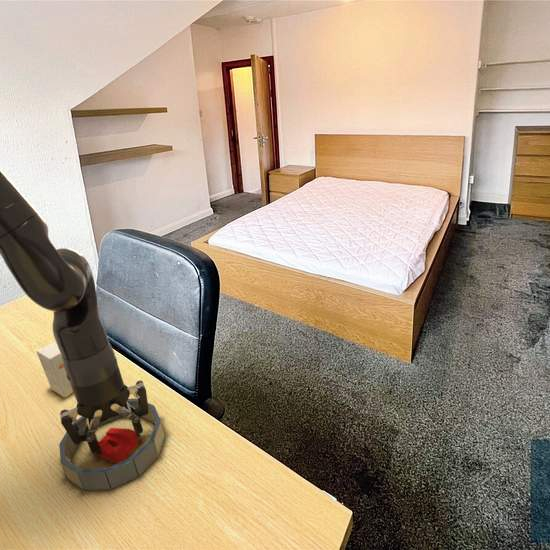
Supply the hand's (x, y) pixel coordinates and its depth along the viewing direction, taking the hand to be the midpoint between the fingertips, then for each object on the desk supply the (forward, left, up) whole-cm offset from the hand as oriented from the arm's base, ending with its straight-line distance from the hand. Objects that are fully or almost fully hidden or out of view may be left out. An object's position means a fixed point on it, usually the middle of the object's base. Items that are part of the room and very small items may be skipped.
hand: (118, 442), depth 74 cm
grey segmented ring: (-1, 0, -1) cm, 1 cm away
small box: (-6, +24, -1) cm, 25 cm away
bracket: (-1, 0, -1) cm, 1 cm away
